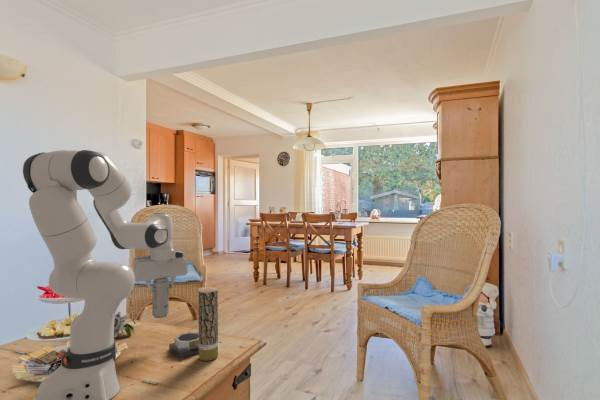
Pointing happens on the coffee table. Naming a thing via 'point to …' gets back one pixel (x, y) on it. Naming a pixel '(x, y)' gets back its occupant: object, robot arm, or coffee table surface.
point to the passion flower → (122, 325)
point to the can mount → (185, 345)
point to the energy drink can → (160, 298)
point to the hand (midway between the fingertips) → (160, 289)
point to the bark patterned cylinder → (208, 323)
